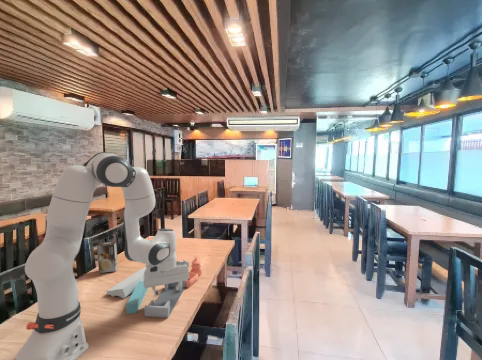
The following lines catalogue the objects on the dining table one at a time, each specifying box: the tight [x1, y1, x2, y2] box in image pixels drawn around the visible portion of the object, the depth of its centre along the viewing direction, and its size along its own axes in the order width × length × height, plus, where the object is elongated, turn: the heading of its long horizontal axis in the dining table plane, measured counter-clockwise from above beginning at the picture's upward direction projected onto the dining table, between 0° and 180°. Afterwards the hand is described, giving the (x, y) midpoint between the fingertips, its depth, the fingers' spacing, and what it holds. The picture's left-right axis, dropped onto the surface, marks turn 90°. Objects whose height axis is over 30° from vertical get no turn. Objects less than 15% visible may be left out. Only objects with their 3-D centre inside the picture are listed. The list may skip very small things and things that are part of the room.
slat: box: [125, 281, 149, 315], centre depth 115 cm, size 20×4×5 cm, turn 8°
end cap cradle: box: [143, 281, 186, 319], centre depth 115 cm, size 25×10×5 cm, turn 177°
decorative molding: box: [106, 265, 146, 299], centre depth 134 cm, size 34×5×10 cm
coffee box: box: [96, 241, 119, 274], centre depth 146 cm, size 9×6×16 cm
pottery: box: [185, 257, 203, 289], centre depth 136 cm, size 18×10×10 cm, turn 158°
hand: (167, 292), depth 115 cm, fingers open, 8 cm apart
